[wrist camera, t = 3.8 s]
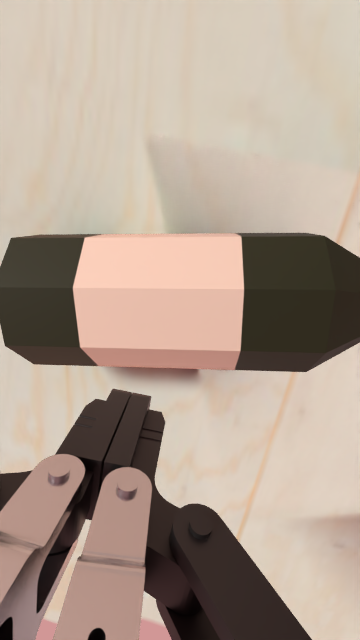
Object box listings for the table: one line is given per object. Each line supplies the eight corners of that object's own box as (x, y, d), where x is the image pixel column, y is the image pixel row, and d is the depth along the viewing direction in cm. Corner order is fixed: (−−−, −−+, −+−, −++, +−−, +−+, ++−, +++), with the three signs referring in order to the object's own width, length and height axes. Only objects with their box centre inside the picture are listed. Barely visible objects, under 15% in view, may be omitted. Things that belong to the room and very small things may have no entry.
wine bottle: (64, 360, 23) (485, 371, 21) (-13, 370, 15) (668, 391, 13) (68, 252, 24) (480, 252, 22) (-3, 206, 16) (652, 197, 13)
